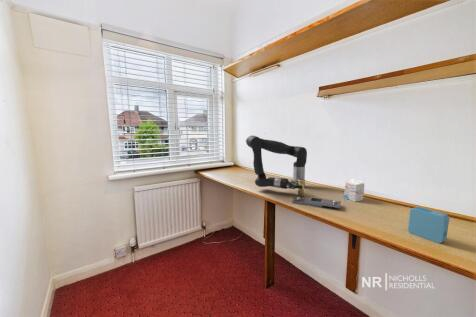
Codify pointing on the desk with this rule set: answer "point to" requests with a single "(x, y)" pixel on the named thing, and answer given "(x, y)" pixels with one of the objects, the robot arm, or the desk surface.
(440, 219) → the data package
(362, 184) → the ink box
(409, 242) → the desk surface
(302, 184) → the link pin
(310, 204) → the chain ends
